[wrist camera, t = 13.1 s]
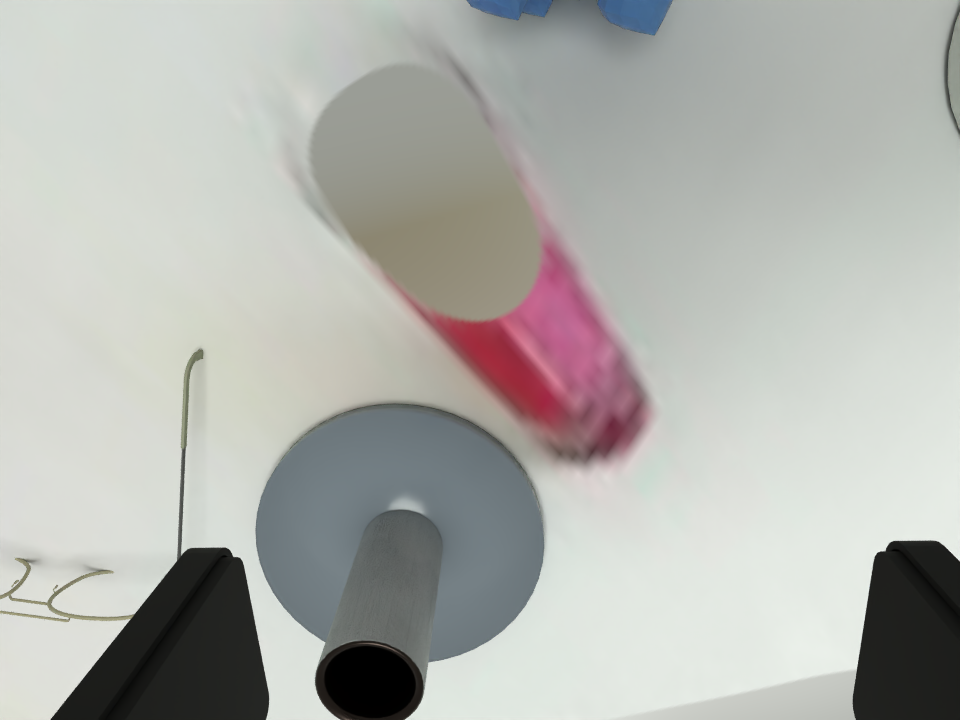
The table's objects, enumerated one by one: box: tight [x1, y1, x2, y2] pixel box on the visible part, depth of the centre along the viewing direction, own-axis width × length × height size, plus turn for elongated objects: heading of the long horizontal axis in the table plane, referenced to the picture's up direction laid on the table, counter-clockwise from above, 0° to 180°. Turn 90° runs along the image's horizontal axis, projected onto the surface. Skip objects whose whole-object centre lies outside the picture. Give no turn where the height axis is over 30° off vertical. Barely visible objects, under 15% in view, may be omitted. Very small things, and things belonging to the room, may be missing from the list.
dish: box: [256, 404, 544, 662], centre depth 38 cm, size 16×16×1 cm
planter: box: [315, 510, 443, 720], centre depth 33 cm, size 4×4×10 cm
